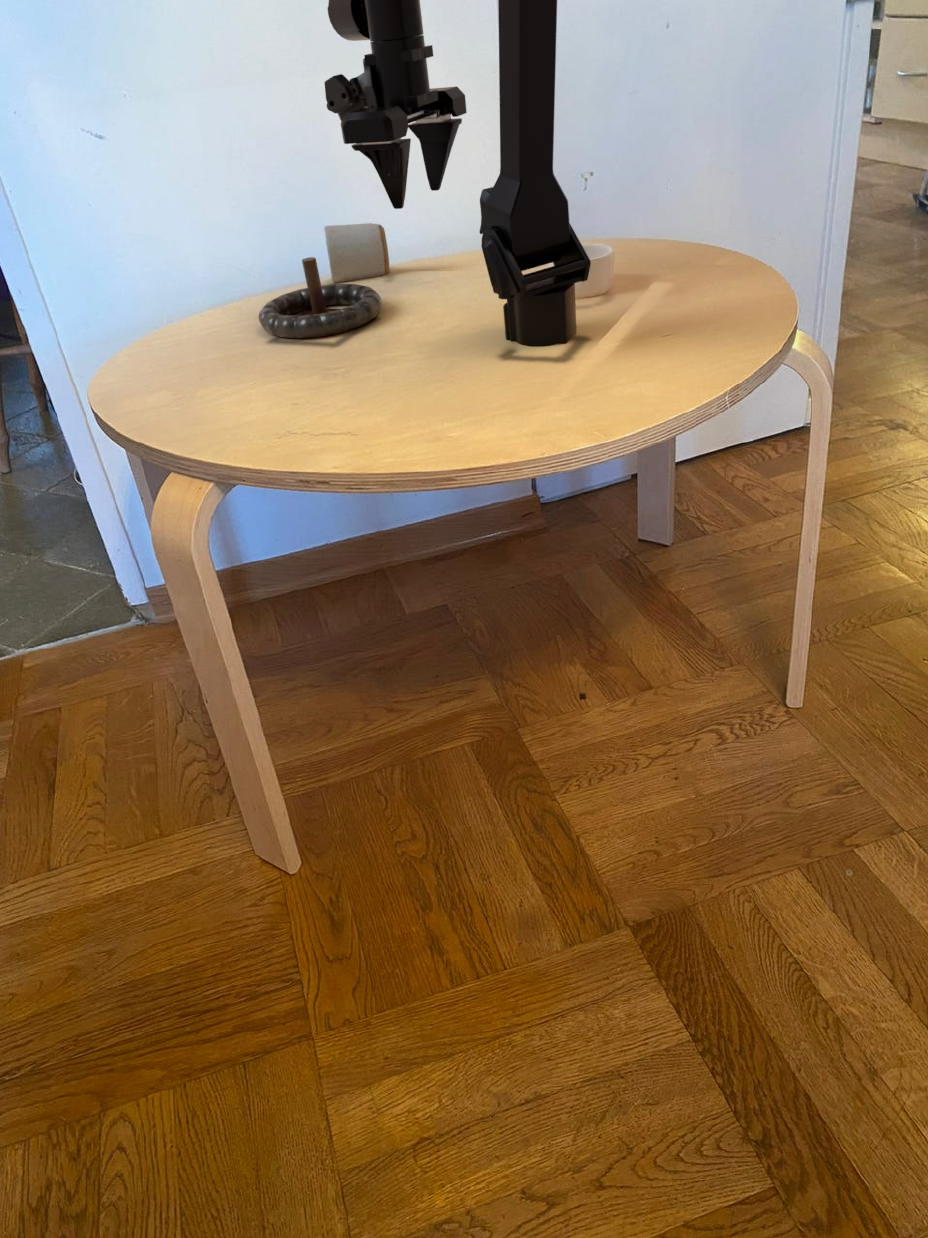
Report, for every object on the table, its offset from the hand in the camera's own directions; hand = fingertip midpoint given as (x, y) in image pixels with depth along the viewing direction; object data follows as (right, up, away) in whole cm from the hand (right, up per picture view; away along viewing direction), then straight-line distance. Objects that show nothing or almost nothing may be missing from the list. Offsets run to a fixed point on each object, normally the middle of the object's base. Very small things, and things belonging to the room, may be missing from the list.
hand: (417, 198), depth 101 cm
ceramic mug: (-9, -2, +20) cm, 22 cm away
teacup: (+19, -11, +3) cm, 22 cm away
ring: (-12, -12, +2) cm, 17 cm away
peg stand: (-11, -14, +3) cm, 19 cm away
